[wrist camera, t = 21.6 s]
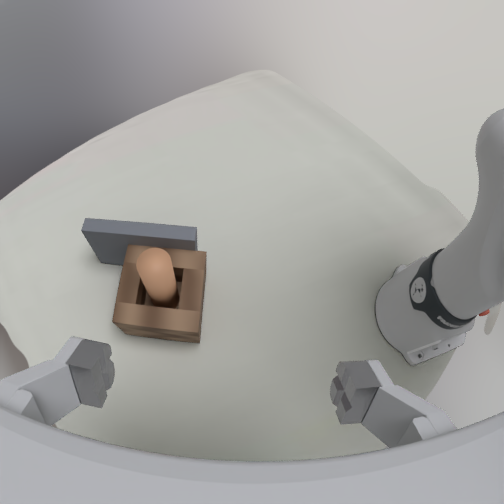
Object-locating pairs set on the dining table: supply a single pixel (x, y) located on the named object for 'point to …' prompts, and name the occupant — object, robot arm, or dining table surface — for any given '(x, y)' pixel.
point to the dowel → (158, 277)
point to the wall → (134, 237)
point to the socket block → (158, 318)
